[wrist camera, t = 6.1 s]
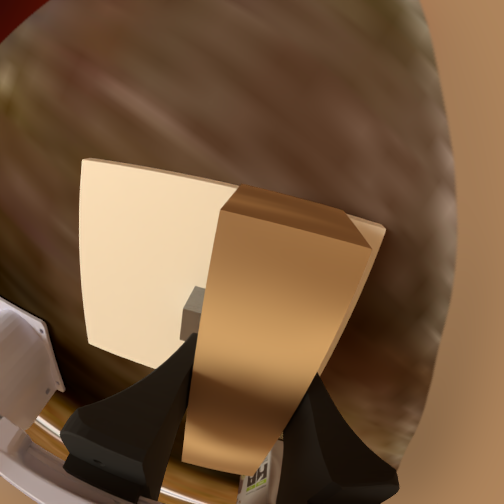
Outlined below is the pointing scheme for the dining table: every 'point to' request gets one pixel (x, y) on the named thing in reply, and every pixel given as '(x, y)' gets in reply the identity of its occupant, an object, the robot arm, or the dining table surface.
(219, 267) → the oak bar
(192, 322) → the fulcrum strip
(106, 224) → the serving board
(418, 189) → the dining table surface
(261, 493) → the coffee box
